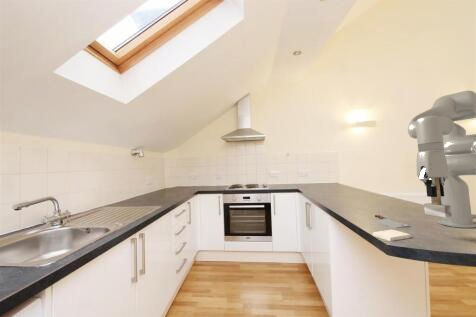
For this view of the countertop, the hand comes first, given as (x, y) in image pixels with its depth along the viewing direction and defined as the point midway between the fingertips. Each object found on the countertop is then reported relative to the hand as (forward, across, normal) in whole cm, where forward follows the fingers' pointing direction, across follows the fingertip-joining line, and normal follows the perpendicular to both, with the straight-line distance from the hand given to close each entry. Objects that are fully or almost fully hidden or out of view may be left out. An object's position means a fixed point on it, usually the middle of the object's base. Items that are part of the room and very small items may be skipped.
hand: (435, 196), depth 84 cm
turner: (+7, 0, 0) cm, 7 cm away
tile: (+15, +8, -9) cm, 20 cm away
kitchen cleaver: (+16, -6, -28) cm, 33 cm away
